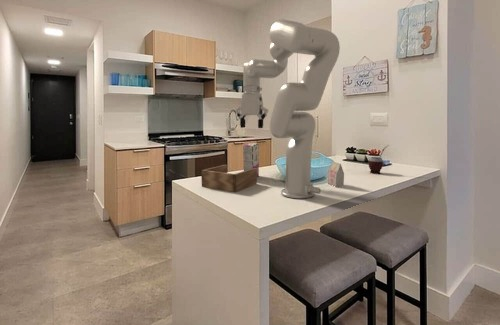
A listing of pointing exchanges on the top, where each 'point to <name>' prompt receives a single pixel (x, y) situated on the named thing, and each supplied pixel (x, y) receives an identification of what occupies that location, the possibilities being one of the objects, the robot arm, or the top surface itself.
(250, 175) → the walnut crate
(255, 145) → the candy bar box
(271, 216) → the top surface
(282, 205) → the top surface
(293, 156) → the robot arm
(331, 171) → the toy house
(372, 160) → the mate gourd
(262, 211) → the top surface
